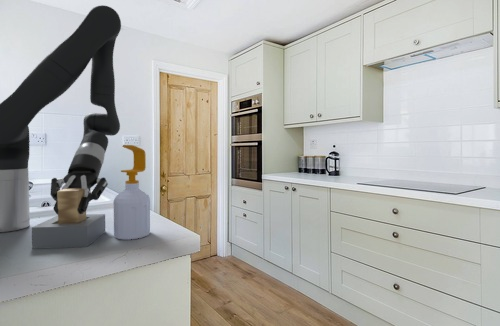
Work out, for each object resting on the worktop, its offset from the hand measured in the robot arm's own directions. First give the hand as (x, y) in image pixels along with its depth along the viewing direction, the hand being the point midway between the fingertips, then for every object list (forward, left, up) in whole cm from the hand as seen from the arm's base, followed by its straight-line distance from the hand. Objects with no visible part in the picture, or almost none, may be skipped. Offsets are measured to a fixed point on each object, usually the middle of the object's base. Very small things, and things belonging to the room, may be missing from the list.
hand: (69, 212), depth 70 cm
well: (0, +2, -7) cm, 8 cm away
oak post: (0, +2, -4) cm, 5 cm away
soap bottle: (+14, +4, -8) cm, 16 cm away
